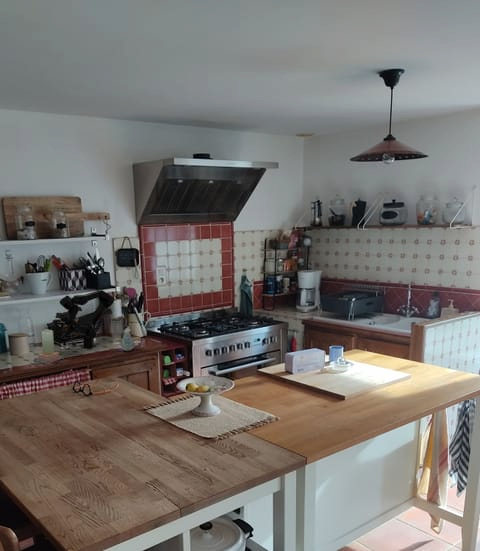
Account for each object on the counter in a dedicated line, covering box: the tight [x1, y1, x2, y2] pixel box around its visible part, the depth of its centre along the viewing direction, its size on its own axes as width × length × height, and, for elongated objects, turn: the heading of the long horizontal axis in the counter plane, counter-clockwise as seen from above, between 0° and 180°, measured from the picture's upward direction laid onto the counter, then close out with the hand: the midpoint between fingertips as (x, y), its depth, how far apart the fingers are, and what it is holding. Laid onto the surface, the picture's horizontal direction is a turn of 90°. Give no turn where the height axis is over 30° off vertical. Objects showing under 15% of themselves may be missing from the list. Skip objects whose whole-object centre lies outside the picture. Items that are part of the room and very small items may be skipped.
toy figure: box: [112, 327, 142, 352], centre depth 301 cm, size 17×10×15 cm, turn 105°
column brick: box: [41, 329, 55, 355], centre depth 282 cm, size 6×6×14 cm
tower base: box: [32, 351, 65, 365], centre depth 283 cm, size 12×12×4 cm
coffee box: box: [111, 316, 129, 344], centre depth 320 cm, size 9×6×16 cm
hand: (59, 336), depth 289 cm, fingers open, 9 cm apart
